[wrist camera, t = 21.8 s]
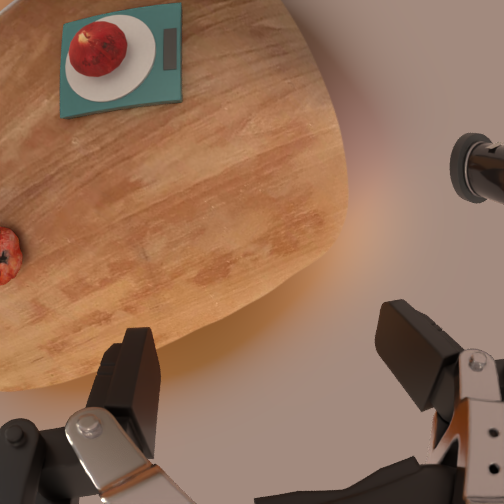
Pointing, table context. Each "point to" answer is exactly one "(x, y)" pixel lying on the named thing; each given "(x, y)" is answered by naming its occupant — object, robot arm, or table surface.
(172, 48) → the scale
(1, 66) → the table surface
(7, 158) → the table surface
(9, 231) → the pomegranate
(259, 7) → the table surface
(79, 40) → the onion
